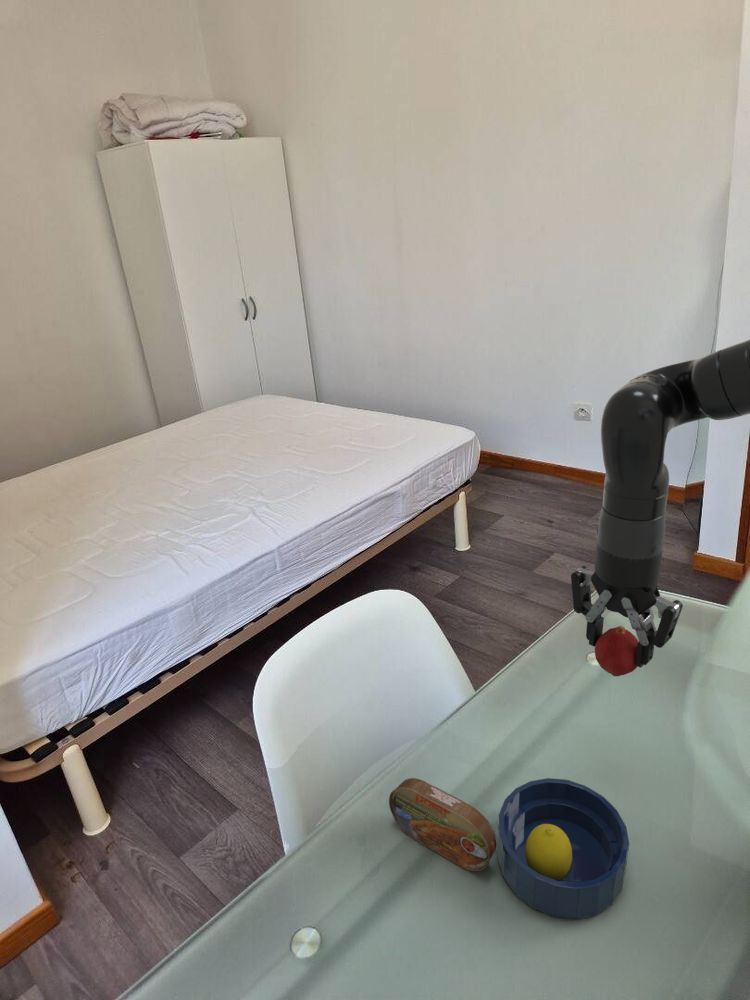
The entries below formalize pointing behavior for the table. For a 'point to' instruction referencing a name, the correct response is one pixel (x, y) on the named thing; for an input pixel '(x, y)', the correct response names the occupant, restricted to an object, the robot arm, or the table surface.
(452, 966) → the table surface
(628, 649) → the onion
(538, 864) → the lemon
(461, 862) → the tin
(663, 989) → the table surface
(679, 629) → the table surface
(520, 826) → the bowl
